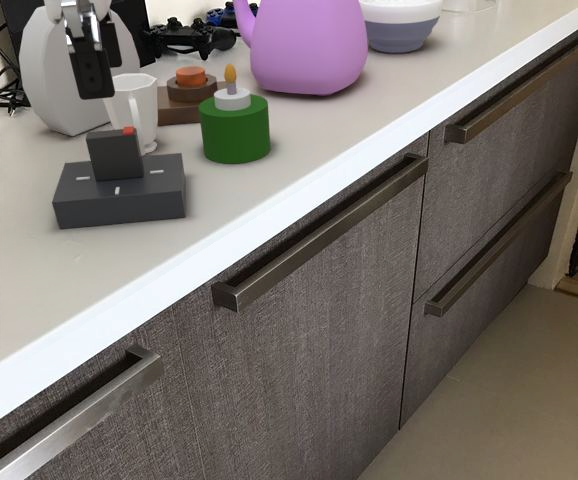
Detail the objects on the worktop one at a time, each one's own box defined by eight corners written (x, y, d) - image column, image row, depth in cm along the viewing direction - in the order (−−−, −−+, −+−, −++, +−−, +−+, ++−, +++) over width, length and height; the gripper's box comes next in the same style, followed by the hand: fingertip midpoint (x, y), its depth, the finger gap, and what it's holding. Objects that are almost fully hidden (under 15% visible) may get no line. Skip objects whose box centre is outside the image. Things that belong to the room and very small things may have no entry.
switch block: (151, 126, 90) (146, 95, 88) (154, 102, 98) (149, 73, 95) (239, 119, 91) (237, 88, 88) (235, 95, 98) (232, 67, 96)
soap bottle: (60, 143, 87) (12, -35, 74) (35, 135, 89) (-15, -38, 76) (150, 107, 96) (122, -57, 83) (126, 101, 99) (94, -59, 86)
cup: (164, 134, 88) (153, 69, 82) (174, 163, 80) (163, 94, 75) (110, 142, 86) (96, 76, 81) (116, 171, 79) (100, 101, 74)
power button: (177, 89, 90) (175, 75, 89) (177, 80, 93) (175, 67, 92) (206, 87, 91) (205, 73, 89) (206, 78, 94) (204, 65, 92)
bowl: (344, 56, 111) (345, 5, 106) (364, 34, 122) (366, -14, 117) (431, 60, 108) (436, 8, 103) (444, 37, 118) (449, -12, 113)
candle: (203, 165, 79) (191, 77, 73) (205, 139, 86) (194, 56, 79) (272, 161, 80) (266, 72, 73) (268, 135, 86) (263, 52, 79)
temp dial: (95, 181, 70) (84, 136, 67) (97, 173, 71) (86, 129, 68) (143, 177, 70) (134, 132, 67) (144, 169, 72) (135, 125, 68)
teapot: (385, 64, 107) (391, -46, 97) (343, 107, 93) (344, -17, 83) (257, 55, 114) (250, -49, 104) (200, 93, 100) (185, -22, 90)
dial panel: (59, 229, 69) (51, 200, 66) (71, 188, 76) (64, 161, 74) (185, 217, 69) (180, 188, 67) (185, 178, 77) (181, 151, 75)
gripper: (24, -144, 60) (75, 60, 71) (-20, -133, 47) (50, 115, 58) (108, -150, 60) (145, 54, 71) (88, -141, 47) (137, 107, 58)
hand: (103, 81), depth 65 cm, fingers open, 9 cm apart
